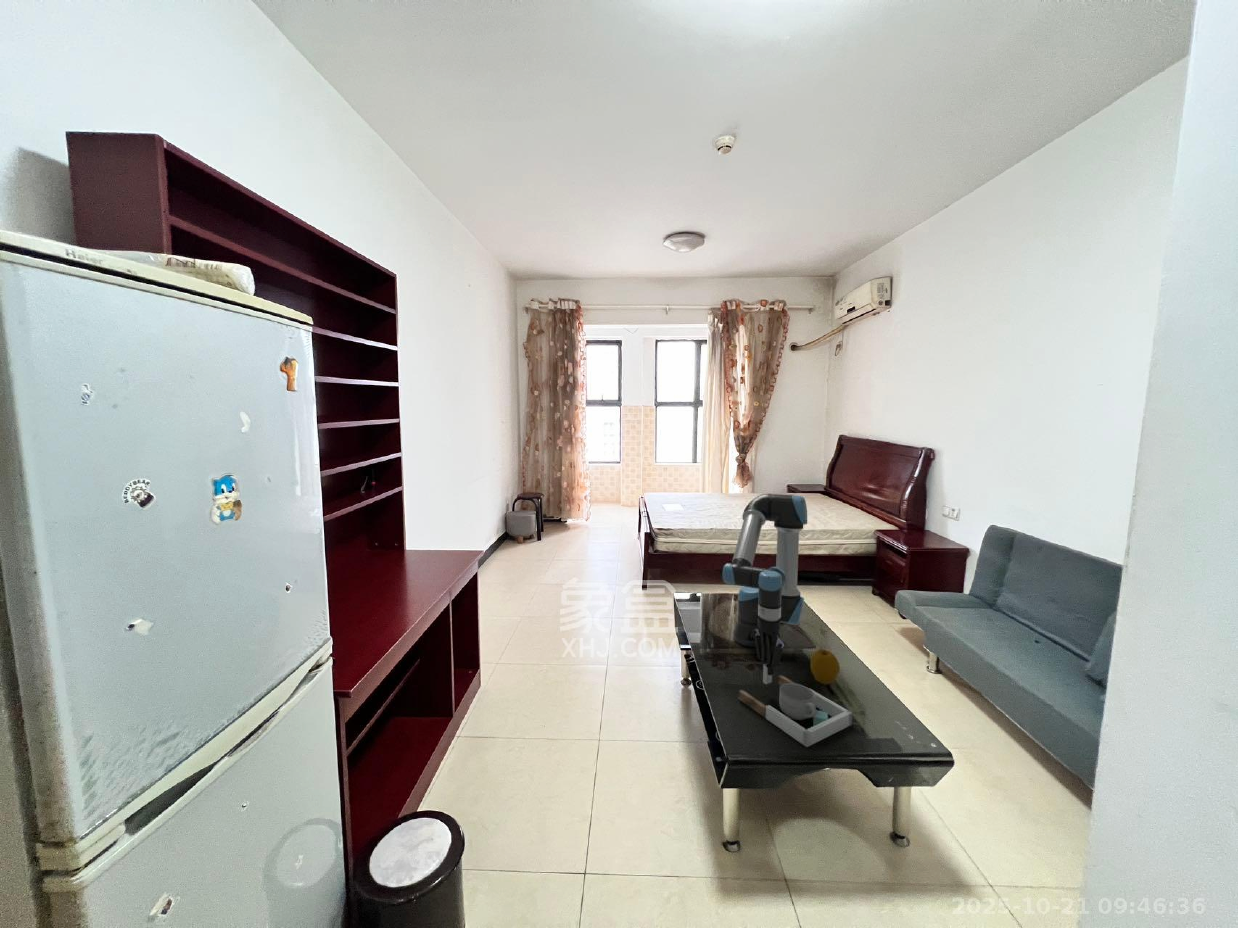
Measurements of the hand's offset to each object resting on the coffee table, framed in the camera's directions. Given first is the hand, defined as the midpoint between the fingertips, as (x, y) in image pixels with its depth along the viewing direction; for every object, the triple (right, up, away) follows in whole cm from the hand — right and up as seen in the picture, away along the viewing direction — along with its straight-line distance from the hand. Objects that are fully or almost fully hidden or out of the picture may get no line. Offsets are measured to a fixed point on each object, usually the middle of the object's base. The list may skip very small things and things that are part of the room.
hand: (767, 681), depth 162 cm
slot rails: (+1, -5, -3) cm, 6 cm away
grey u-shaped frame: (+8, -5, -15) cm, 18 cm away
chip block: (+11, -6, -17) cm, 21 cm away
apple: (+23, -4, +8) cm, 25 cm away
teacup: (+6, -6, -13) cm, 15 cm away
